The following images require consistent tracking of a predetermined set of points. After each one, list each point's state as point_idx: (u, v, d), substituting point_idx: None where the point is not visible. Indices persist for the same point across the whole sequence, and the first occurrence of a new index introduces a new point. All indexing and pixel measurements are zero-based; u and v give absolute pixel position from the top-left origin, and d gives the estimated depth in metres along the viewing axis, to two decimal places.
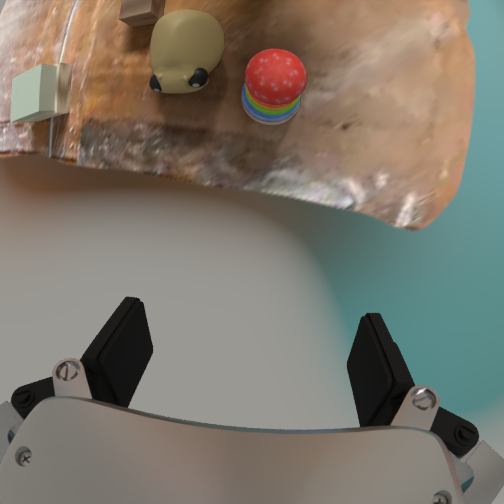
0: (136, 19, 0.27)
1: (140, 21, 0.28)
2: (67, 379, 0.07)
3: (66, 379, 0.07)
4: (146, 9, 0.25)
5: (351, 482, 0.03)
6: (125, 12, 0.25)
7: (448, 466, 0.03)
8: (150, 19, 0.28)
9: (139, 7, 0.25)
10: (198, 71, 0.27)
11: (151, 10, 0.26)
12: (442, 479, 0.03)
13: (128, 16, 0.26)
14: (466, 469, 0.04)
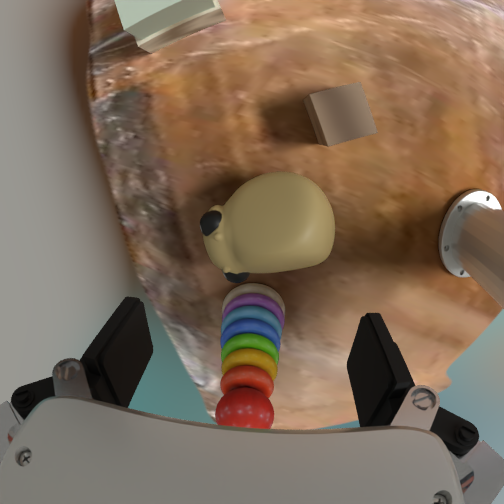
0: (314, 116, 0.24)
1: (313, 118, 0.25)
2: (67, 379, 0.07)
3: (66, 379, 0.07)
4: (331, 138, 0.23)
5: (351, 482, 0.03)
6: (323, 101, 0.22)
7: (448, 466, 0.03)
8: (319, 134, 0.25)
9: (334, 123, 0.22)
10: (241, 276, 0.26)
11: (330, 145, 0.23)
12: (442, 479, 0.03)
13: (316, 109, 0.22)
14: (466, 469, 0.04)
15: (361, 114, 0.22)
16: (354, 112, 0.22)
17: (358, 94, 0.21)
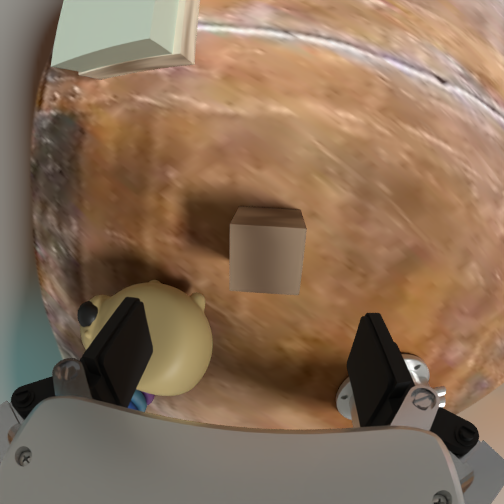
0: None
1: None
2: (67, 379, 0.07)
3: (66, 379, 0.07)
4: (236, 283, 0.20)
5: (351, 482, 0.03)
6: (244, 238, 0.19)
7: (448, 466, 0.03)
8: None
9: (247, 269, 0.20)
10: None
11: (233, 288, 0.21)
12: (442, 479, 0.03)
13: (231, 245, 0.19)
14: (466, 470, 0.04)
15: (287, 269, 0.20)
16: (278, 263, 0.19)
17: (295, 244, 0.19)
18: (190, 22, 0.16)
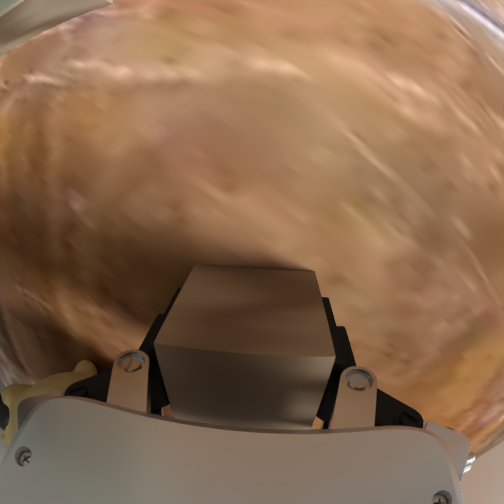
0: None
1: None
2: (128, 370, 0.08)
3: (127, 370, 0.08)
4: None
5: (351, 482, 0.03)
6: (190, 370, 0.08)
7: (448, 466, 0.03)
8: None
9: (205, 412, 0.09)
10: None
11: None
12: (442, 479, 0.03)
13: (166, 376, 0.08)
14: None
15: (286, 416, 0.08)
16: (268, 409, 0.08)
17: (306, 382, 0.08)
18: None
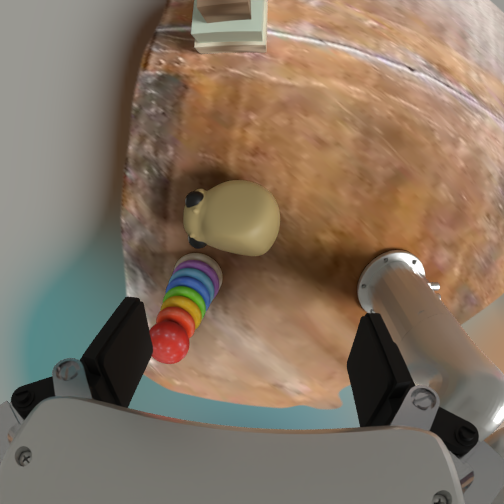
0: None
1: None
2: (67, 379, 0.07)
3: (66, 379, 0.07)
4: (201, 2, 0.19)
5: (351, 482, 0.03)
6: None
7: (448, 466, 0.03)
8: None
9: None
10: (200, 244, 0.35)
11: (200, 8, 0.19)
12: (442, 479, 0.03)
13: None
14: (466, 469, 0.04)
15: None
16: None
17: None
18: None
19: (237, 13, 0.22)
